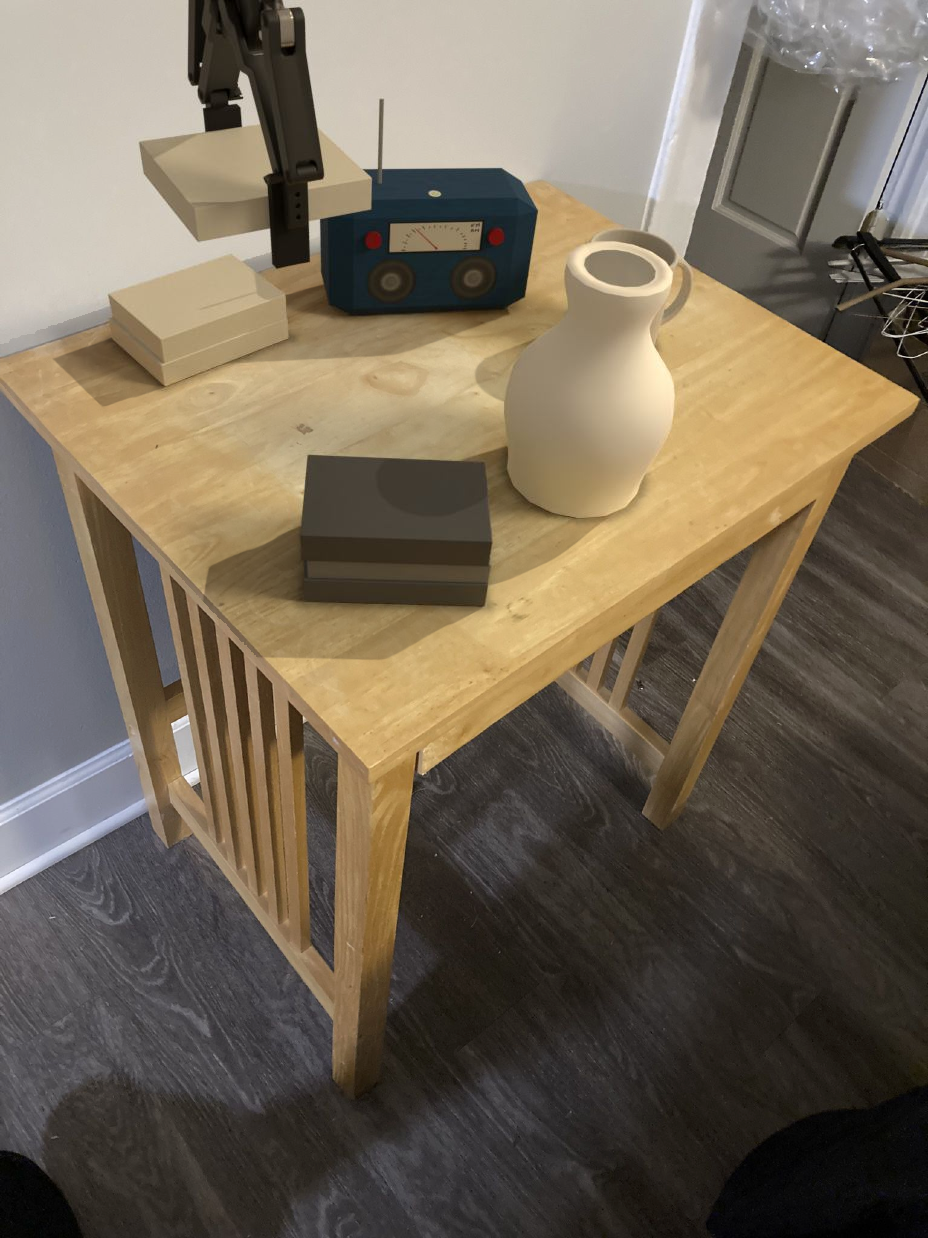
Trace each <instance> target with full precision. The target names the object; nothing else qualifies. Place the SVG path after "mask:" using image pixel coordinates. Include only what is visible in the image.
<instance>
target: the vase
mask: <svg viewBox="0 0 928 1238" xmlns="http://www.w3.org/2000/svg"><path fill="white" fill-rule="evenodd" d="M672 276H673V272H672V270H671V269H670V267H669V266H668V264H667V263H666V261H664V260H663V259H661V258H660V257H659V256H657V255H656V254H654V253H653V252H651V251H648V250H646V249H643V248H641V247H638V246H635V245H632V244H627V243H621V242H615V241H603V242H591V243H589V242H588V243H584V244H580V245H578V246H577V247H576V248H574V249H572V250H571V251H570V252H569V253H568V256H567V259H566V263H565V268H564V275H563V277H564V278H563V281H564V288H565V294H566V299H567V308H566V309H567V310H566V312H565V313H564V315H563V317H562V318H561V319H560V320H559V322H558V323H557V324H555V325H553V326H552V327H550V328H549V329H547V330H546V331H545V332H543V333H542V334H540V335H539V336H537V338H535V339H534V340H533V341H532V342H531V343H529V344H528V345H527V346H526V347H525V348H524V349H523V351H521V352H520V353H519V355H518V356H517V358H516V359H515V361H514V362H513V365H512V369H511V371H510V374H509V378H508V381H507V382H508V383H507V386H506V390H505V393H504V394H505V395H504V400H503V415H504V416H503V417H504V427H505V433H506V442H507V463H506V471H507V473H508V476H509V479H510V481H511V484H512V486H513V487H514V488H515V489H516V490H517V491H518V492H519V493H520V494H521V496H523V497H524V498H525V499H526V500H527V501H528V502H529V503H531V504H534V505H535V506H537V507H539V508H542V509H543V510H545V511H547V512H549V513H551V514H555V515H559V516H566V517H572V518H577V519H587V518H599V517H601V518H602V517H606V516H608V515H611V514H614V513H617V512H618V511H620V510H623V509H625V508H627V506H628V505H629V504H630V502H631V501H632V500H633V499H634V498H635V497H636V496H637V494H638V493H639V489H640V485H641V483H642V482H643V479H644V477H645V475H646V473H647V472H648V470H649V469H650V467H651V465H652V464H653V462H654V461H655V460H656V458H657V456H658V455H659V453H660V452H661V450H662V448H663V447H664V445H665V443H666V441H667V439H668V437H669V435H670V432H671V429H672V426H673V420H674V413H675V398H676V397H675V395H676V393H675V384H674V380H673V377H672V374H671V372H670V371H669V369H668V367H667V365H666V364H665V362H664V360H663V358H662V357H661V355H660V353H659V352H658V350H657V348H656V347H655V346H654V345H653V343H652V339H651V335H650V325H651V323H652V320H653V319H654V317H655V315H656V314H657V312H658V311H659V309H660V308H661V307H662V305H663V304H664V302H665V301H666V299H667V297H668V298H669V295H670V293H671V289H672V285H673V281H672ZM667 300H668V299H667Z"/></svg>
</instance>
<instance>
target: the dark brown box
mask: <svg viewBox="0 0 928 1238" xmlns="http://www.w3.org/2000/svg"><path fill="white" fill-rule="evenodd" d="M304 479H305V480H304V489H303V500H302V511H301V522H300V532H299V533H300V534H299V538H300V539H299V540H300V541H299V542H300V543H299V544H300V560H301V561H302V562H303V566H302V567H303V568H302V579H301V583H302V601H303V602H322V603H358V604H392V605H393V604H396V605H397V604H398V605H427V606H429V605H430V606H431V605H434V606H465V607H466V606H470V607H471V606H472V607H485V606H486V601H487V595H488V590H489V581H490V575H491V567H492V559H491V554H492V548H493V533H492V532H493V531H492V522H491V521H492V520H491V512H490V501H489V490H488V478H487V469H486V462H485V461H466V460H448V459H447V460H446V459H445V460H443V459H423V458H422V459H419V458H398V457H397V458H395V457H377V456H376V457H374V456H372V457H371V456H351V455H350V456H349V455H325V454H307V457H306V470H305V478H304Z"/></svg>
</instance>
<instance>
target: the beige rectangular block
mask: <svg viewBox="0 0 928 1238" xmlns="http://www.w3.org/2000/svg"><path fill="white" fill-rule="evenodd" d="M107 296H108V301H109V306H110V307H109V308H110V312H111V316H110V317H108V318H107V320H108V326H109V329H110V330H109V331H110V335H111V339H112V340H113V341H114V343H116V344H117V345H118V346H119V347H120V348H122V349H123V350H124V351H125V352H126V353H127V354H128V355H129V356H130V357H132V358H133V359H134V360H135V361H136V362H137V363H138V364H139V365H140V366H142V367H143V369H145V370H146V371H147V372H148V373H149V374H150V375H151V376H152V377H154V379H156V380H157V381H158V382H159V383H160V384H161V385H163V386H164V387H167V386H169V385H173V384H175V383H178V382H180V381H182V380H186V379H188V378H190V377H193V376H195V375H199V374H201V373H203V372H206V371H208V370H211V369H213V368H216V367H219V366H221V365H224V364H226V363H229V362H232V361H234V360H237V359H239V358H242V357H245V356H247V355H249V354H251V353H255V352H258V351H260V350H263V349H265V348H267V347H270V346H273V345H275V344H278V343H280V342H283V341H285V340H288V339H289V321H288V317H287V299H286V298H287V297H286V294H285V293H284V292H283V291H281V290H280V289H279V288H277V286H276V285H274V284H272V283H271V282H269V281H268V280H267V279H266V278H264V277H263V276H261V275H260V274H259V273H258V272H256V271H255V270H254V269H252V268H251V267H250V266H248V265H247V264H245V262H243V261H242V260H241V259H239V258H238V257H236V256H235V255H234V254H233V253H230V254H226V255H222V256H220V257H217V258H214V259H211V260H208V261H205V262H202V263H198V264H196V265H193V266H190V267H186V268H184V269H180V270H177V271H174V272H171V273H167V274H165V275H162V276H158V277H155V278H153V279H150V280H147V281H144V282H143V281H142V282H141V283H140V282H139V283H137V284H135V285H131V286H127V287H125V288H122V289H119V290H115V291H112V292H110V293H108V294H107Z"/></svg>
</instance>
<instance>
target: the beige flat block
mask: <svg viewBox="0 0 928 1238" xmlns="http://www.w3.org/2000/svg"><path fill="white" fill-rule="evenodd" d="M317 128H318V134H319V141H320V148H321V154H322V161H323V168H324V178H323V179H322V180H317V181H311V182H308V207H309V222H312V221H317V220H320V219H323V218H328V217H334V216H339V215H344V214H350V213H355V212H360V211H365V210H371V189H372V178H371V177H370V176H369V175H368V174H367V173H366V172H365V171H364V170H363V169H364V168H362V167H361V166H359V165H358V164H357V162H356V161H354V160H353V159H352V158H351V157H350V156H349V155H348V154H347V153H345V151H344V150H342V148H341V147H340V146H338V145H337V144H336V143H335V141H333V140H332V139H331V138H329V136H327V134H325V133H324V132H323V131H322V130H321V129H320V128H319V127H318V126H317ZM138 145H139V152H140V153H139V154H140V158H141V159H140V160H141V165H142V171H143V175H144V176H145V178H146V179H147V180H148V181H149V183H150V184H151V185H152V186H153V187H154V189H155V190H156V191H157V193H159V195H160V196H161V197H162V199H163V200H164V201H165V203H166V204H167V205H168V206H169V208H170V209H171V211H172V212H173V213H174V214H175V215H176V216H177V218H178V219H179V220H180V221H181V223H182V224H183V225H184V227H185V228H186V229H187V231H188V232H189V233H190V234H191V236H192V237H193V238H194V240H196V242H198V243H201V242H206V241H213V240H216V239H217V240H218V239H221V238H228V237H232V236H238V235H244V234H249V233H254V232H260V231H264V230H270V217H269V201H268V188H267V184H266V183H265V181H264V178H263V177H264V176H266V175H268V174H270V173H273V172H272V168H271V164H270V160H269V156H268V152H267V149H266V145H265V141H264V137H263V133H262V129H261V125H260V123H259V124H253V125H246V126H245V125H244V126H242V127H238V128H231V129H224V130H217V131H210V132H205V131H203V132H197V133H196V132H195V133H189V134H181V135H176V136H168V137H162V138H155V139H148V140H141V141H138Z"/></svg>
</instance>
